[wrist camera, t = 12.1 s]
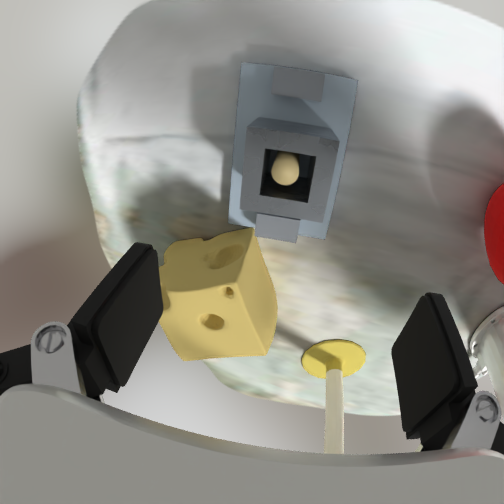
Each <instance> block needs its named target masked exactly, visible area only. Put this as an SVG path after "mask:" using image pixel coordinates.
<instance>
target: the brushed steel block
mask: <svg viewBox="0 0 504 504" xmlns="http://www.w3.org/2000/svg"><path fill="white" fill-rule="evenodd" d="M339 143H340V141H339V139H338V138H337V136H336V135H335V133H334V132H333V130H332V129H331V128H326V127H321V126H316V125H310V124H304V123H298V122H292V121H285V120H278V119H271V118H263V117H258V118H257V119H256V120H254V121H253V122H252V123H251V124H249V125H248V126H247V130H246V141H245V151H244V162H243V173H242V184H241V196H240V207H239V209H241V210H247V211H254V212H260V213H266V214H273V215H279V216H285V217H291V218H297V219H302V220H308V221H314V222H319V223H323V219H324V214H325V210H326V206H327V201H328V197H329V192H330V187H331V183H332V178H333V173H334V168H335V163H336V158H337V153H338V148H339ZM271 149H274V150H280V151H287V152H293V153H299V154H305V155H311V157H310V163H309V168H308V174H307V178H305V177H300V176H298V178H297V180H296V181H295V182H294V183H292V184H290V185H281V184H279V183H277V182H276V181H275V180H274V179H273V177H272V173H271V172H268V169H269V161H270V153H271Z"/></svg>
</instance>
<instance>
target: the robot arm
mask: <svg viewBox="0 0 504 504" xmlns="http://www.w3.org/2000/svg"><path fill="white" fill-rule="evenodd" d="M163 308H164V307H163V299H162V291H161V284H160V275H159V266H158V257H157V251H156V250H153V247H152V245H149V244H144V243H138V242H136V243H134V244H133V245H132V246H131V248H130V249H129V250H128V251H127V252H126V253H125V254H124V256H123V257H122V258H121V259H120V260H119V261H118V262H117V264H116V265H115V266H114V267H113V268H112V269H111V271H110V272H109V273H108V274H107V275H106V277H105V278H104V279H103V280H102V281H101V283H100V284H99V285H98V286H97V287H96V289H95V290H94V291H93V292H92V294H91V295H90V296H89V297H88V299H87V300H86V301H85V302H84V304H83V305H82V306H81V307H80V309H79V310H78V311H77V313H76V314H75V315H74V316H73V318H72V319H71V321H70V322H69V324H68V325H65V324H63V323H61V322H56V321H55V322H49V323H46V324H44V325H42V326H41V327H39V328H38V329H37V330H36V331H35V332H34V335H33V336H32V339H31V344H29V345H26V346H23V347H20V348H17V349H14V350H10V351H7V352H3V353H0V504H504V424H503V423H501V422H500V419H501V415H502V419H503V422H504V306H503V307H501V308H499V309H497V310H496V311H495V312H493V313H492V314H491V315H489V316H488V317H487V318H486V319H485V320H484V321H483V322H482V323H481V324H480V326H479V327H478V328H477V329H476V331H475V333H474V334H473V336H472V338H471V341H470V350H471V353H472V355H473V356H474V357H475V358H478V361H477V363H476V366H475V367H474V368H473V369H472V366H471V363H470V360H469V357H468V355H467V352H466V349H465V347H464V344H463V341H462V339H461V336H460V334H459V331H458V329H457V326H456V324H455V322H454V319H453V317H452V315H451V312H450V310H449V308H448V306H447V303H446V301H445V299H444V297H443V295H441V294H437V293H430V292H428V293H426V294H425V296H422V297H421V298H420V300H419V301H418V303H417V305H416V307H415V309H414V311H413V312H412V314H411V316H410V318H409V319H408V321H407V323H406V325H405V326H404V328H403V330H402V331H401V333H400V335H399V336H398V338H397V340H396V341H395V343H394V345H393V347H392V359H393V365H394V371H395V377H396V383H397V390H398V396H399V404H400V411H401V420H402V428H403V431H405V432H406V437H407V439H418V438H420V440H421V444H420V445H419V447H418V448H417V450H416V451H415V452H411V453H398V454H397V453H396V454H370V455H368V454H366V455H358V454H357V455H354V454H352V455H351V454H325V453H310V452H299V451H289V450H280V449H273V448H266V447H259V446H253V445H247V444H242V443H236V442H231V441H226V440H222V439H217V438H213V437H208V436H204V435H200V434H196V433H192V432H188V431H185V430H181V429H177V428H174V427H171V426H167V425H164V424H161V423H158V422H155V421H151V420H149V419H146V418H143V417H140V416H137V415H133V414H131V413H128V412H125V411H122V410H120V409H117V408H114V407H112V406H109V405H107V404H105V403H104V400H103V396H102V394H103V393H104V391H105V389H108V390H111V391H114V392H116V393H117V392H118V390H119V388H120V386H122V387H123V386H125V384H126V383H127V381H128V379H129V377H130V375H131V373H132V371H133V369H134V367H135V366H136V363H137V362H138V360H139V358H140V356H141V354H142V352H143V350H144V348H145V346H146V344H147V342H148V340H149V339H150V337H151V335H152V333H153V331H154V329H155V327H156V325H157V323H158V322H159V320H160V318H161V316H162V314H163ZM481 372H482V374H483V375H486V374H487V373H488V374H489V376H490V379H491V382H492V385H493V388H494V391H495V395H496V397H497V398H496V397H495V396H494V395H493V394H491V393H489V392H488V391H479V392H478V393H475V389H476V388H477V387H478V385H477V381H476V378H477V377H478V376H479V375H480V373H481Z"/></svg>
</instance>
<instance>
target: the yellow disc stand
mask: <svg viewBox="0 0 504 504" xmlns="http://www.w3.org/2000/svg"><path fill="white" fill-rule="evenodd" d="M365 356H366V353H365V352H364V350H363V349H362V347H361V346H359V345H358V344H356V343H354V342H352V341H346V340H329V341H324V342H321V343H318V344H315V345H313V346H312V347H311V348H309V349H308V350H307V351H305V353H304V355H303V357H302V365H303V368H304V369H305V370H306V371H307V372H308V373H309V374H311V375H313V376H316V377H318V378H324V379H326V413H325V414H326V415H325V442H324V453H325V454H343V450H344V447H343V445H344V406H343V377H346V376H349V375H352V374H353V373H355V372H356V371H358V370H359V369H360V368H361V367H362V366H363V364H364V363H365Z"/></svg>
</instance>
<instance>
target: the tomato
mask: <svg viewBox="0 0 504 504" xmlns="http://www.w3.org/2000/svg"><path fill="white" fill-rule="evenodd" d="M484 238H485V245H486V251H487V255H488V259H489V263H490V266H491V268H492V270H493V271H494V273H495V275H496V277H497V278H498V280H499V281H500V282H501V283H502V284H504V184H502V185H501V186H500V187H499V188H497V190H496V191H495V192H494V194H493V195H492V197H491V199H490V201H489V203H488V206H487V209H486V213H485V222H484Z"/></svg>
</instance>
